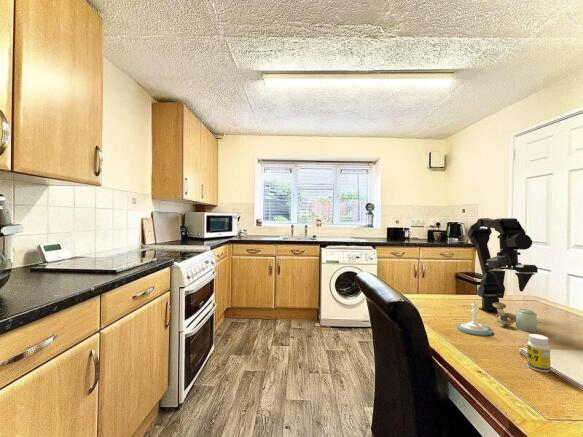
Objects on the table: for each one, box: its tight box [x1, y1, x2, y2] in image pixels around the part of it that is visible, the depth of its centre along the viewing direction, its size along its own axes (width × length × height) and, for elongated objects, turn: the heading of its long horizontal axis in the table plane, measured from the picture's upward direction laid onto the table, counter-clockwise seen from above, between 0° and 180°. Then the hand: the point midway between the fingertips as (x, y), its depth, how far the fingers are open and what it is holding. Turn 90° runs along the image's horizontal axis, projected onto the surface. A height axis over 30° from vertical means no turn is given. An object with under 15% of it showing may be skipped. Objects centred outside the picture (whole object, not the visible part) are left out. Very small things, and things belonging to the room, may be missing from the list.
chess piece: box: [466, 298, 483, 329], centre depth 111 cm, size 5×5×10 cm
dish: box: [456, 322, 493, 337], centre depth 110 cm, size 11×11×1 cm
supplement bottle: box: [526, 333, 551, 373], centre depth 81 cm, size 5×5×8 cm
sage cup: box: [515, 308, 538, 333], centre depth 112 cm, size 6×6×7 cm
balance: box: [493, 301, 512, 325], centre depth 120 cm, size 17×5×6 cm, turn 152°
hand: (510, 289), depth 119 cm, fingers open, 9 cm apart
